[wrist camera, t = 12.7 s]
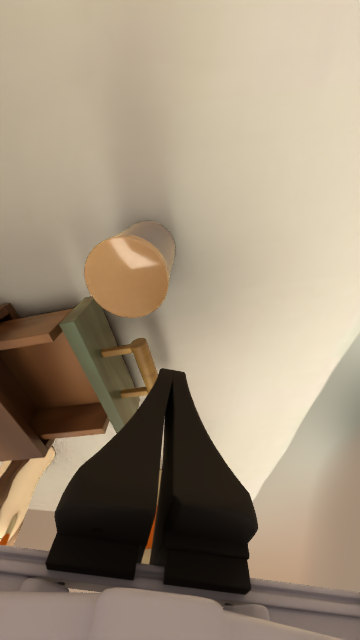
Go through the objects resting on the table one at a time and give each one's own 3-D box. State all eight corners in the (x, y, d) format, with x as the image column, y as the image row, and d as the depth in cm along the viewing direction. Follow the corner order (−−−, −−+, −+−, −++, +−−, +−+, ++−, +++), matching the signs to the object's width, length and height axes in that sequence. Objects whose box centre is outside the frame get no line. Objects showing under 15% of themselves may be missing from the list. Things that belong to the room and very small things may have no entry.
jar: (114, 226, 19) (69, 247, 12) (169, 213, 18) (156, 227, 11) (131, 279, 21) (102, 323, 14) (181, 269, 21) (176, 310, 14)
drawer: (140, 286, 21) (127, 311, 16) (174, 395, 27) (171, 434, 23) (-22, 317, 23) (-70, 346, 19) (43, 411, 29) (19, 448, 25)
